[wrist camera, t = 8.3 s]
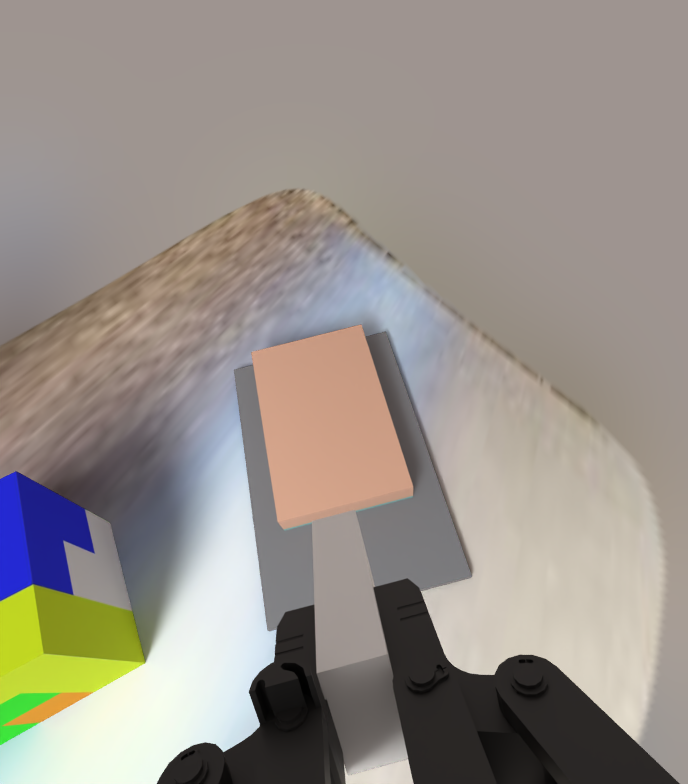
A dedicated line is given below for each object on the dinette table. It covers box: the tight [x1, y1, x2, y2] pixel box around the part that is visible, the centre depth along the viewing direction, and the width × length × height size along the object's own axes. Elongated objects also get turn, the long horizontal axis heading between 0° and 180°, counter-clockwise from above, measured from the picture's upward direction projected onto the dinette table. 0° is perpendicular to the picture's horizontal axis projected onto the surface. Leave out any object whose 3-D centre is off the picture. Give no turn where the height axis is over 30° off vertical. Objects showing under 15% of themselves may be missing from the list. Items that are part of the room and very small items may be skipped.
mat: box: [234, 332, 472, 631], centre depth 35 cm, size 20×13×1 cm, turn 13°
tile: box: [251, 325, 413, 531], centre depth 36 cm, size 2×9×14 cm
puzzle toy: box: [0, 471, 145, 745], centre depth 28 cm, size 10×10×10 cm
